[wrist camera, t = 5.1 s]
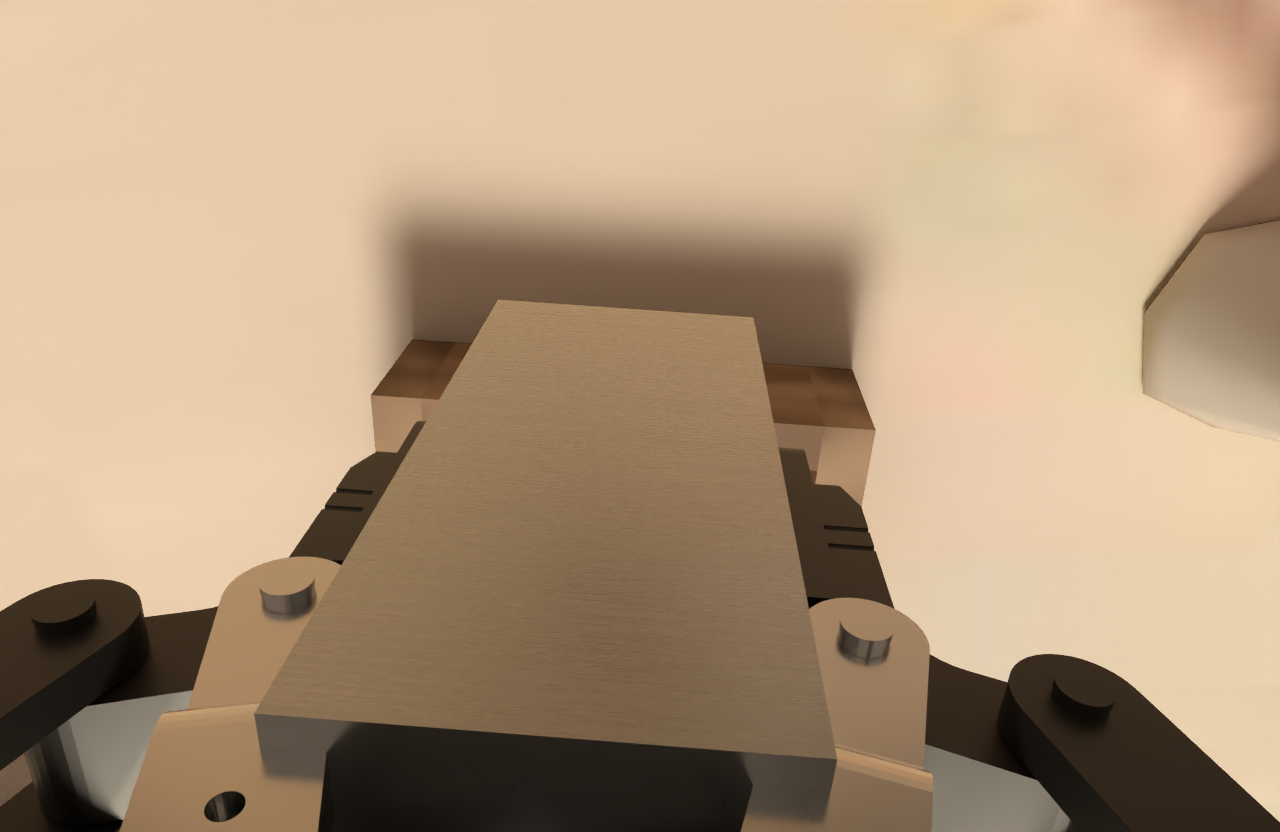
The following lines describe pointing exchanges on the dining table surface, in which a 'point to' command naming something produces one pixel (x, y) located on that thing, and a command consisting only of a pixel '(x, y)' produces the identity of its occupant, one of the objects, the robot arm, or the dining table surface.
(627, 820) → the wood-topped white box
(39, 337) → the dining table surface
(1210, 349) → the flask
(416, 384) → the rectangular wooden frame
